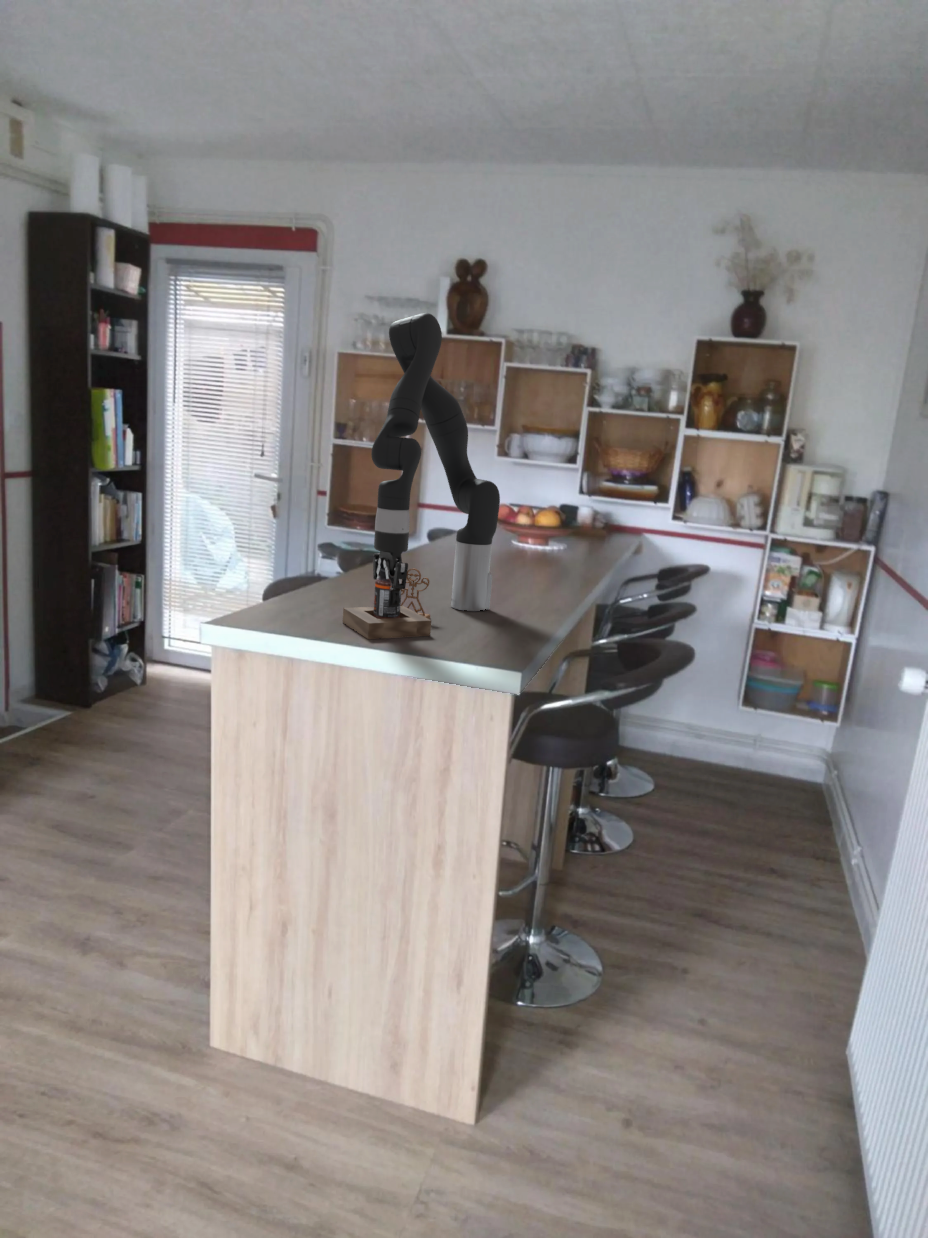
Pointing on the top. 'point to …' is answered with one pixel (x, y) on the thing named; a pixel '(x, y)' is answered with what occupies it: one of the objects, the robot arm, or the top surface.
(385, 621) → the brown wooden square frame
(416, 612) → the gingerbread man figurine
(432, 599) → the top surface
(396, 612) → the supplement bottle
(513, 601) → the top surface
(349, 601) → the top surface
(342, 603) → the top surface
